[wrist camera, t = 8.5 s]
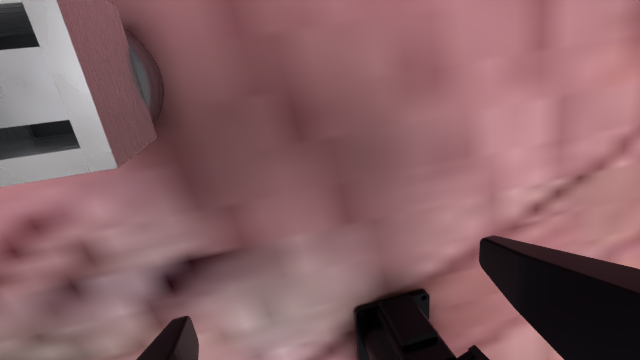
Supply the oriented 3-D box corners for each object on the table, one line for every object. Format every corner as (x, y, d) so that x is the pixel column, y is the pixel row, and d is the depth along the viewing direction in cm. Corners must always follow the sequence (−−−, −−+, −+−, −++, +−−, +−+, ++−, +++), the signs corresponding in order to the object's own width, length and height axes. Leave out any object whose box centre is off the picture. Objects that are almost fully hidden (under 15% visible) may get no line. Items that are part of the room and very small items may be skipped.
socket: (157, 138, 14) (117, 168, 10) (22, 158, 13) (-92, 201, 9) (116, 5, 12) (43, -35, 8) (-46, 16, 11) (-237, -22, 7)
